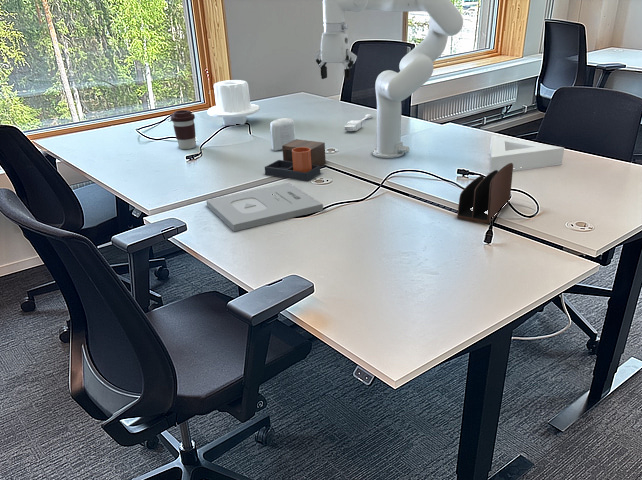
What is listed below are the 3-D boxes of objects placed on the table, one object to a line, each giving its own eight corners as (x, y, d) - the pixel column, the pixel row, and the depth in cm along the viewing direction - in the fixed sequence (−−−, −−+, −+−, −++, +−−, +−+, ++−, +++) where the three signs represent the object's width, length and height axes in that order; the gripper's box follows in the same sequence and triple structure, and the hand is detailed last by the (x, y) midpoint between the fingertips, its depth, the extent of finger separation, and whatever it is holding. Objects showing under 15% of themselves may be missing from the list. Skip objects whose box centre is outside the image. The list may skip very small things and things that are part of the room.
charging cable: (374, 119, 289) (374, 112, 288) (353, 133, 263) (353, 125, 261) (364, 118, 291) (364, 111, 289) (343, 132, 264) (343, 124, 263)
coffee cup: (171, 149, 250) (164, 113, 242) (184, 143, 258) (178, 108, 250) (190, 151, 247) (184, 115, 239) (203, 144, 254) (198, 109, 247)
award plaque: (323, 210, 184) (322, 203, 183) (234, 231, 172) (233, 224, 171) (289, 188, 203) (288, 182, 202) (207, 206, 191) (206, 199, 190)
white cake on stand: (257, 128, 276) (253, 86, 267) (205, 130, 277) (199, 88, 267) (263, 116, 298) (260, 77, 288) (215, 117, 298) (209, 78, 289)
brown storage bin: (325, 163, 227) (324, 142, 223) (312, 170, 219) (311, 149, 215) (297, 159, 233) (296, 139, 228) (283, 166, 225) (282, 145, 221)
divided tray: (320, 173, 216) (320, 165, 214) (307, 181, 209) (306, 173, 207) (279, 167, 224) (278, 159, 222) (265, 174, 217) (264, 166, 215)
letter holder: (509, 203, 185) (515, 159, 178) (488, 225, 171) (493, 178, 164) (479, 197, 190) (483, 155, 183) (456, 218, 175) (460, 173, 168)
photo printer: (291, 145, 250) (289, 115, 244) (296, 147, 247) (294, 117, 241) (270, 149, 245) (267, 119, 239) (275, 151, 242) (272, 121, 236)
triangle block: (561, 164, 217) (564, 147, 213) (528, 183, 200) (530, 165, 197) (489, 150, 235) (491, 134, 231) (454, 166, 218) (455, 149, 215)
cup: (315, 172, 215) (314, 148, 211) (305, 178, 210) (304, 153, 205) (299, 169, 218) (298, 146, 214) (289, 175, 213) (287, 151, 208)
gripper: (360, 27, 205) (361, 78, 214) (318, 26, 212) (320, 76, 221) (350, 30, 199) (351, 82, 208) (307, 28, 207) (310, 79, 216)
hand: (335, 79), depth 215 cm, fingers open, 9 cm apart
